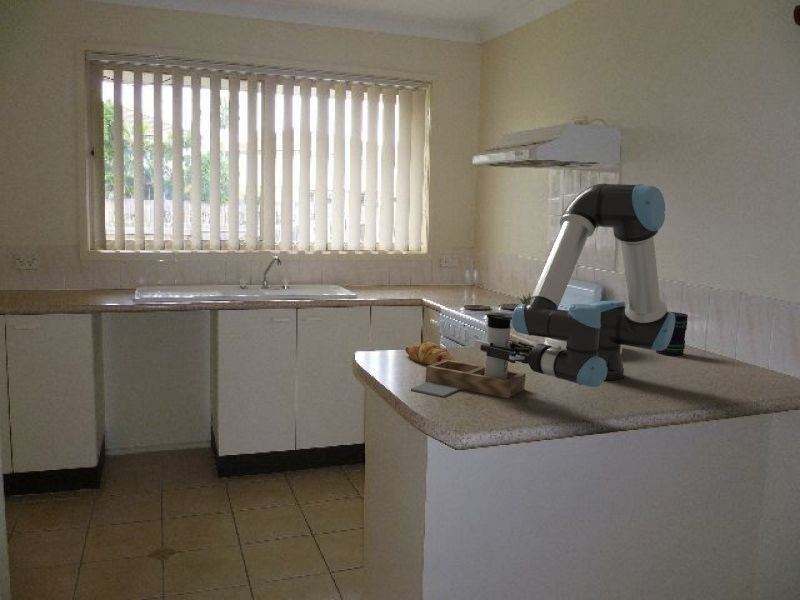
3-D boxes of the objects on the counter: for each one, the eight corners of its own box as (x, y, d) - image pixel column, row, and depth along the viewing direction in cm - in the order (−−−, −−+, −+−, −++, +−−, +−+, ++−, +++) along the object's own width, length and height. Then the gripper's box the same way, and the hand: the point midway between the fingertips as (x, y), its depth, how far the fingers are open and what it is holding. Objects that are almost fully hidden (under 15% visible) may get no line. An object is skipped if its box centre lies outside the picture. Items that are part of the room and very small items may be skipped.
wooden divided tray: (524, 389, 196) (525, 373, 196) (508, 398, 186) (509, 381, 185) (444, 374, 209) (445, 359, 208) (425, 381, 199) (426, 366, 198)
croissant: (459, 378, 219) (469, 355, 221) (442, 367, 212) (452, 343, 214) (410, 364, 233) (419, 342, 235) (392, 353, 226) (402, 330, 228)
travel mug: (480, 382, 197) (484, 312, 194) (503, 383, 198) (508, 313, 195) (485, 388, 191) (489, 316, 188) (508, 389, 192) (513, 317, 189)
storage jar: (654, 354, 256) (658, 314, 254) (655, 349, 265) (659, 310, 263) (683, 357, 253) (688, 317, 250) (684, 353, 262) (688, 313, 260)
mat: (460, 389, 192) (460, 388, 192) (443, 397, 183) (443, 395, 183) (428, 383, 197) (428, 381, 197) (410, 390, 188) (410, 388, 188)
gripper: (573, 342, 185) (507, 327, 202) (525, 349, 173) (460, 333, 190) (571, 370, 186) (506, 353, 203) (523, 379, 174) (458, 360, 191)
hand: (484, 343), depth 197 cm, fingers closed on travel mug, 6 cm apart
